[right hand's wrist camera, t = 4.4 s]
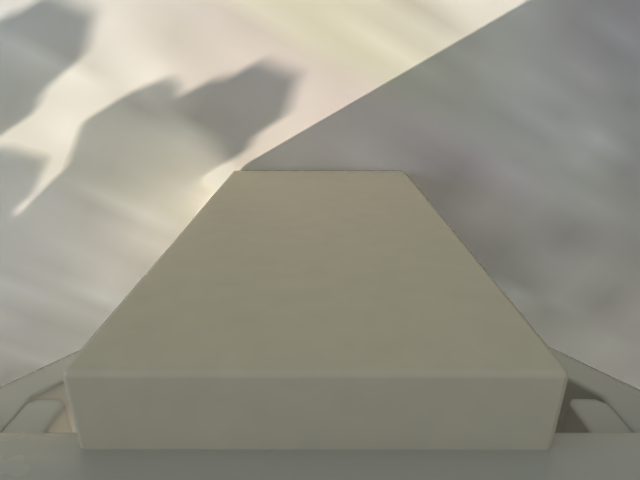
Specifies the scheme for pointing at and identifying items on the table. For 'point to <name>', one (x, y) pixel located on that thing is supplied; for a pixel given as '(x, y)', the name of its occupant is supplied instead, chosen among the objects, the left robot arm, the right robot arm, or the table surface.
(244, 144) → the table surface
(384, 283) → the brick
